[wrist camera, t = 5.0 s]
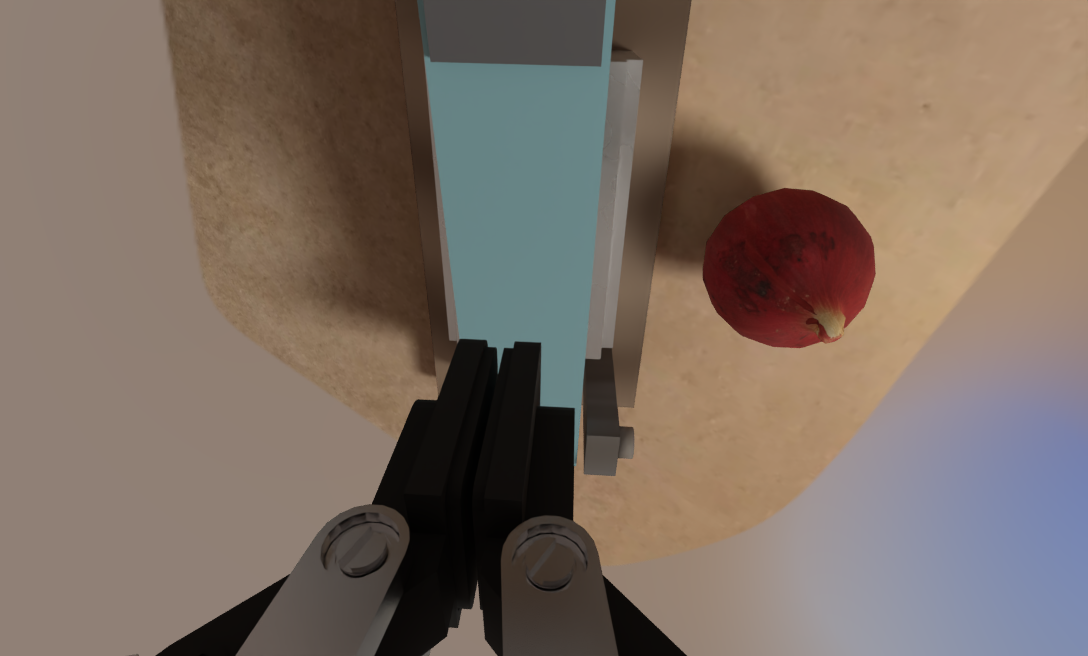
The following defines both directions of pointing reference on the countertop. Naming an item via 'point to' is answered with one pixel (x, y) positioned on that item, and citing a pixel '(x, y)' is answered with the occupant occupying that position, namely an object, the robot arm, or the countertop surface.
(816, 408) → the countertop surface
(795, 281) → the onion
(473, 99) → the bar
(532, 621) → the robot arm
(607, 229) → the heat sink
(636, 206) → the clip base
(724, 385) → the countertop surface
